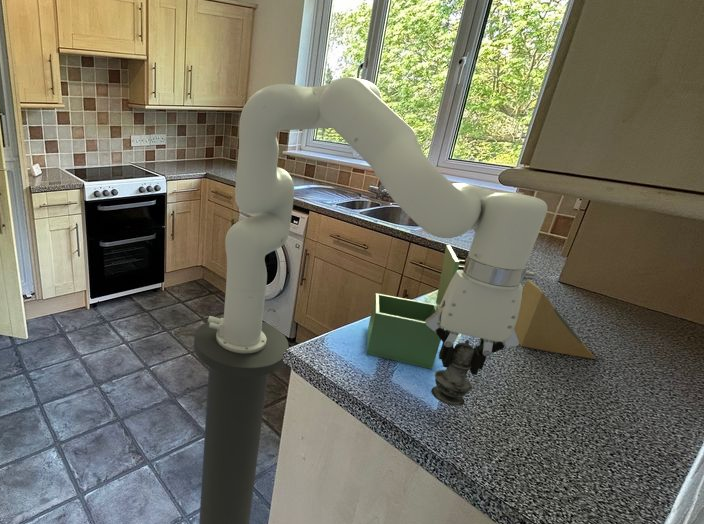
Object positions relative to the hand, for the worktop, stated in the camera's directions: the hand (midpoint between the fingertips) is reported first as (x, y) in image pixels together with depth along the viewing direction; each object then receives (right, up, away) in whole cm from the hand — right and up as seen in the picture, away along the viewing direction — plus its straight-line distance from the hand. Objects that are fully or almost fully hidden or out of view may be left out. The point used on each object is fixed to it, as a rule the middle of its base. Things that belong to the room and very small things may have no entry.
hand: (458, 365), depth 71 cm
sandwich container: (+43, -3, +31) cm, 53 cm away
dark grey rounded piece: (0, -6, +2) cm, 7 cm away
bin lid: (+9, +13, +18) cm, 24 cm away
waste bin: (+3, -3, +26) cm, 27 cm away
